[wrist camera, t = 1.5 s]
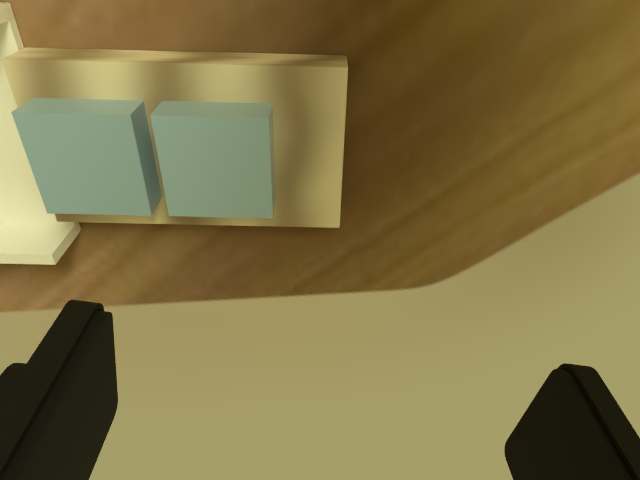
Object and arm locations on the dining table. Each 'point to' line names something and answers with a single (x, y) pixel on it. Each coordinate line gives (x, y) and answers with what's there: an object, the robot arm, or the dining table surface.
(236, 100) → the board
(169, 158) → the tile
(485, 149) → the dining table surface
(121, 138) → the tile
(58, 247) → the tray
